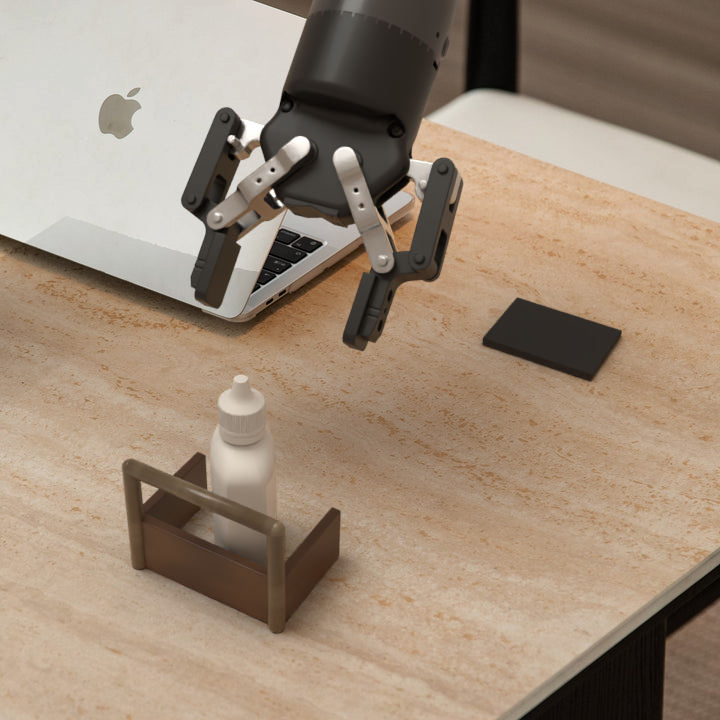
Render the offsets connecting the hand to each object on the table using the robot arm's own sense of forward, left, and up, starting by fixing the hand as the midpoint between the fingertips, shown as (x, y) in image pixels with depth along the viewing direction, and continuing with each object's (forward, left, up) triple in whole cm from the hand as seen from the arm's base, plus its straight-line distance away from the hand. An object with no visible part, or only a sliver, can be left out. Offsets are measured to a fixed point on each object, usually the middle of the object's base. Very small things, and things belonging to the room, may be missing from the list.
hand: (278, 325), depth 64 cm
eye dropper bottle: (0, -4, -13) cm, 14 cm away
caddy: (0, -4, -13) cm, 13 cm away
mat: (+7, +24, -13) cm, 28 cm away
